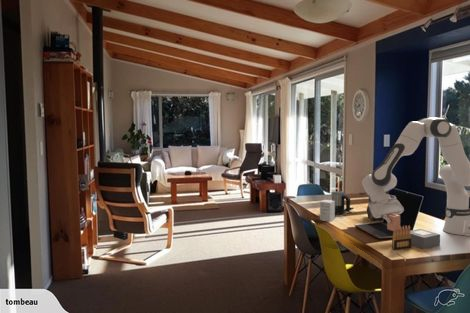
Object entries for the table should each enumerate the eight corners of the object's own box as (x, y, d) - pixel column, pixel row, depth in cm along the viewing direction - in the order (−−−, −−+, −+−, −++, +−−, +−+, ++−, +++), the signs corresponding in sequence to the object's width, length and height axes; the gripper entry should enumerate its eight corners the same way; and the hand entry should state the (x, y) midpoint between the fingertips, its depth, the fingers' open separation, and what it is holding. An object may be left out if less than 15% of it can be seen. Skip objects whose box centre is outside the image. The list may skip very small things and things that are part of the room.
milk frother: (329, 213, 276) (329, 193, 275) (335, 209, 290) (335, 189, 289) (350, 216, 270) (350, 194, 268) (354, 211, 283) (355, 190, 282)
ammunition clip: (394, 250, 200) (394, 227, 199) (391, 249, 201) (392, 226, 200) (411, 247, 203) (412, 225, 202) (408, 246, 205) (409, 224, 203)
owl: (366, 216, 268) (366, 187, 266) (385, 216, 266) (386, 187, 264) (369, 221, 255) (370, 190, 253) (390, 221, 253) (391, 191, 251)
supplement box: (324, 217, 265) (324, 199, 264) (334, 219, 261) (335, 200, 260) (319, 220, 260) (319, 201, 259) (329, 221, 255) (330, 202, 254)
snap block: (393, 227, 217) (393, 212, 216) (400, 230, 213) (400, 214, 212) (387, 229, 215) (387, 213, 214) (393, 231, 211) (394, 215, 210)
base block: (420, 239, 216) (420, 228, 216) (439, 245, 206) (440, 234, 205) (404, 242, 211) (404, 231, 211) (423, 249, 201) (424, 237, 200)
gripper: (369, 199, 214) (383, 221, 206) (397, 195, 222) (411, 216, 215) (363, 206, 218) (377, 227, 210) (391, 201, 227) (404, 222, 219)
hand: (394, 221), depth 213 cm, fingers closed on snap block, 5 cm apart
